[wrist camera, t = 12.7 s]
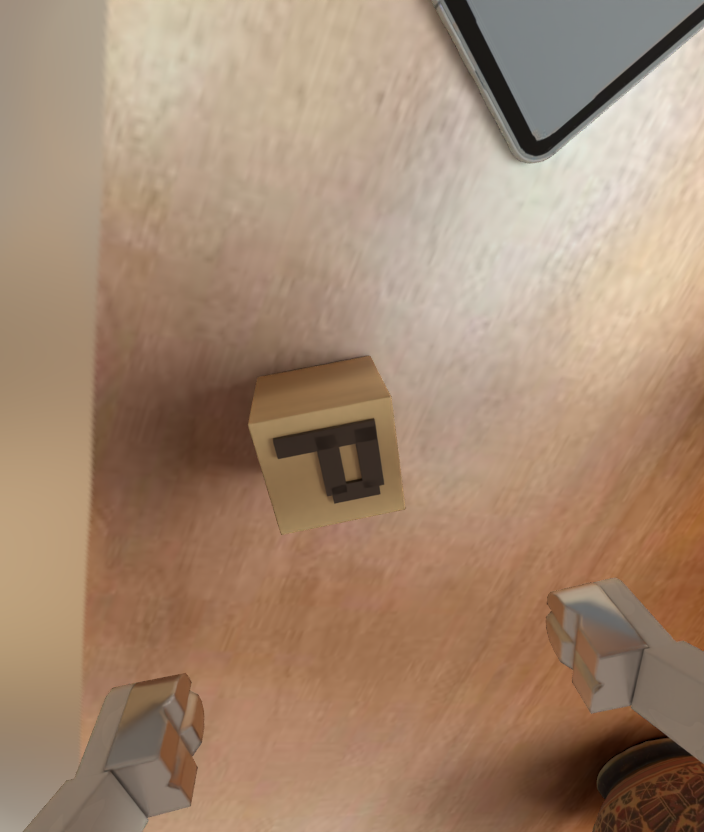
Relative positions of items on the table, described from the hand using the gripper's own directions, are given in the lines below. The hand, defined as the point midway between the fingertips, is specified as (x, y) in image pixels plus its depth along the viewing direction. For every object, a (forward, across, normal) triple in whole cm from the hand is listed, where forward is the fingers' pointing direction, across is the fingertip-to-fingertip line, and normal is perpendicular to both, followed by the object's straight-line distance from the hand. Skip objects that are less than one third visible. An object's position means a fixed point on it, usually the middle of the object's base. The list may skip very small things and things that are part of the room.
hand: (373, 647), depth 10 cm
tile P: (+12, 0, 0) cm, 12 cm away
